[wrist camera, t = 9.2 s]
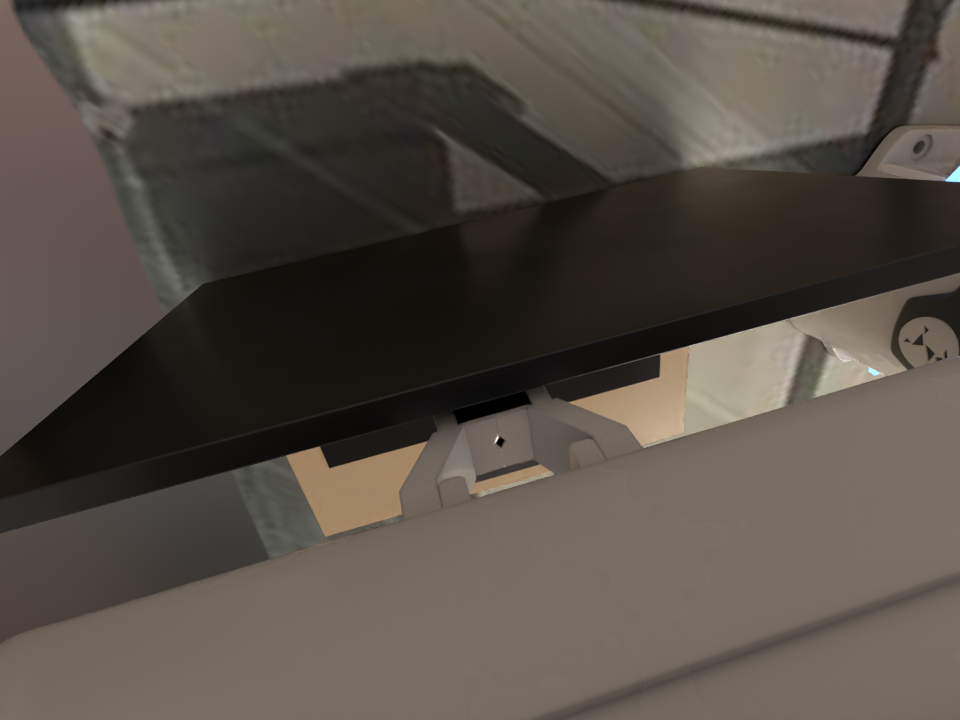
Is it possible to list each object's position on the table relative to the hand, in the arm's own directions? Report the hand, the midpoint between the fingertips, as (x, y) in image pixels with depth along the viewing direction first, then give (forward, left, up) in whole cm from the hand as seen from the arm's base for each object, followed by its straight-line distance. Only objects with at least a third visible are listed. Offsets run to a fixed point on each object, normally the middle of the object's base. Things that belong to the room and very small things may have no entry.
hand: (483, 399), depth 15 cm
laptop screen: (-3, +1, -9) cm, 9 cm away
